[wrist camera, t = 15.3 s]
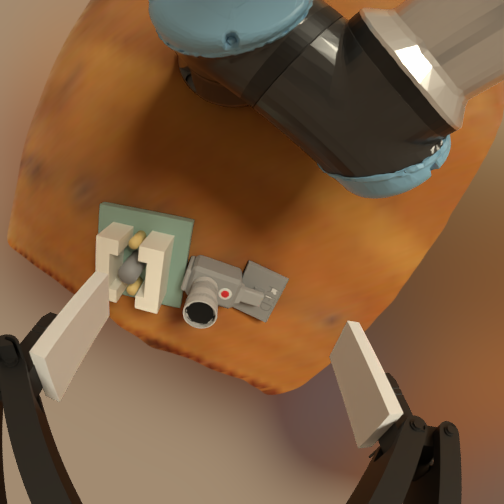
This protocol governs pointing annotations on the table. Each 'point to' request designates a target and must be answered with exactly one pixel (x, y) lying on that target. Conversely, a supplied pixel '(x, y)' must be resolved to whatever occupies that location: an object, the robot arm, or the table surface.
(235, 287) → the camera
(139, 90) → the table surface
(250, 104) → the robot arm
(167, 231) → the board
